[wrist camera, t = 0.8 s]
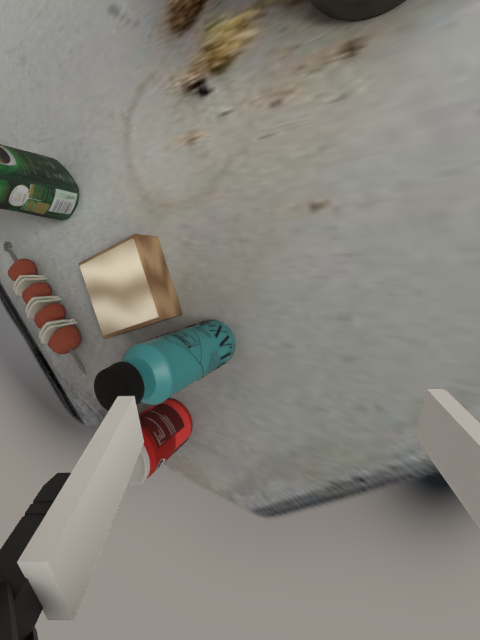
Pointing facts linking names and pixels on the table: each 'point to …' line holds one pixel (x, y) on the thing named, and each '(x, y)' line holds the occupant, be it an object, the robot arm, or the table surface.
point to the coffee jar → (35, 184)
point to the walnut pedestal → (130, 286)
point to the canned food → (160, 437)
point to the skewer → (44, 308)
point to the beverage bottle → (166, 364)
